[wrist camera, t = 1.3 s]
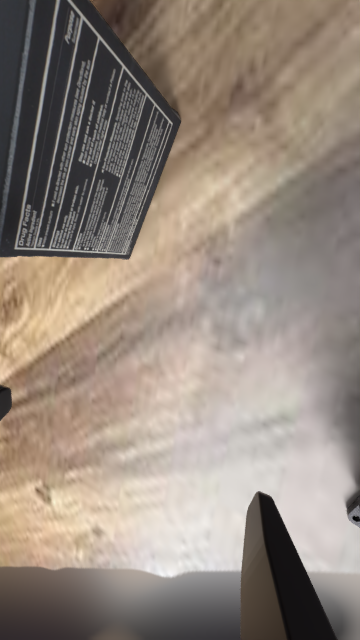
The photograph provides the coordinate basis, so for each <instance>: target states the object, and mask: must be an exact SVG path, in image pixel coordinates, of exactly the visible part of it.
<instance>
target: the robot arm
mask: <svg viewBox="0 0 360 640" xmlns="http://www.w3.org/2000/svg"><path fill="white" fill-rule="evenodd" d="M11 407H12V397H11V389H10V388H8V387H6V386H4V385H0V421H1V419H2V418H3V417H4V416H5V415H6V414H7V413H8V412H9V411H10V409H11ZM347 515H348V519H349V520H350V521H351V522H352V523H353V524H355V525H356V526H358V527H360V496H359V497H358V498H357V500H356V501H355V502H354V503H353V504H352V505H351V506H350V507H349V508H348V509H347ZM241 640H338V639H337V637H336V635H335V633H334V631H333V629H332V626H331V624H330V622H329V620H328V618H327V616H326V613H325V612H324V609H323V607H322V605H321V603H320V600H319V598H318V596H317V594H316V592H315V590H314V587H313V585H312V583H311V581H310V579H309V576H308V574H307V572H306V570H305V568H304V566H303V563H302V561H301V559H300V557H299V555H298V553H297V550H296V548H295V546H294V544H293V542H292V540H291V537H290V535H289V533H288V531H287V529H286V527H285V524H284V522H283V520H282V518H281V516H280V514H279V511H278V509H277V507H276V505H275V503H274V501H273V499H272V497H271V496H269V495H267V494H265V493H262V492H260V491H258V492H256V494H255V496H254V498H253V499H252V501H251V503H250V505H249V507H248V510H247V516H246V527H245V538H244V549H243V560H242V571H241Z"/></svg>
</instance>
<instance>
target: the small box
mask: <svg viewBox="0 0 360 640" xmlns="http://www.w3.org/2000/svg"><path fill="white" fill-rule="evenodd" d="M180 123H181V120H180V117H179V114H178V113H177V111H175V110H174V109H172V108H171V107H170V106H169V104H168V103H167V101H166V100H165V99H164V98H163V96H162V95H161V93H160V92H159V91H158V90H157V88H156V87H155V85H154V84H153V83H152V81H151V80H150V79H149V77H148V76H147V75H146V73H145V72H144V71H143V69H142V68H141V67H140V66H139V64H138V63H137V62H136V60H135V59H134V58H133V57H132V55H131V54H130V53H129V52H128V50H127V49H126V47H125V46H124V45H123V44H122V42H121V41H120V40H119V38H118V37H117V36H116V34H115V33H114V32H113V30H112V29H111V28H110V26H109V25H108V24H107V22H106V21H105V20H104V19H103V17H102V16H101V15H100V13H99V12H98V11H97V10H96V8H95V7H94V6H93V4H92V3H91V2H90V1H89V0H0V257H17V256H28V257H33V256H46V257H53V256H56V257H81V258H114V259H115V258H118V259H126V260H127V259H129V258H130V256H131V253H132V250H133V248H134V245H135V243H136V240H137V237H138V235H139V232H140V229H141V227H142V224H143V222H144V219H145V216H146V213H147V211H148V208H149V206H150V203H151V200H152V197H153V195H154V192H155V190H156V187H157V184H158V182H159V179H160V176H161V174H162V171H163V168H164V166H165V163H166V160H167V158H168V155H169V152H170V150H171V147H172V144H173V142H174V139H175V136H176V133H177V131H178V128H179V125H180Z"/></svg>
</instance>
